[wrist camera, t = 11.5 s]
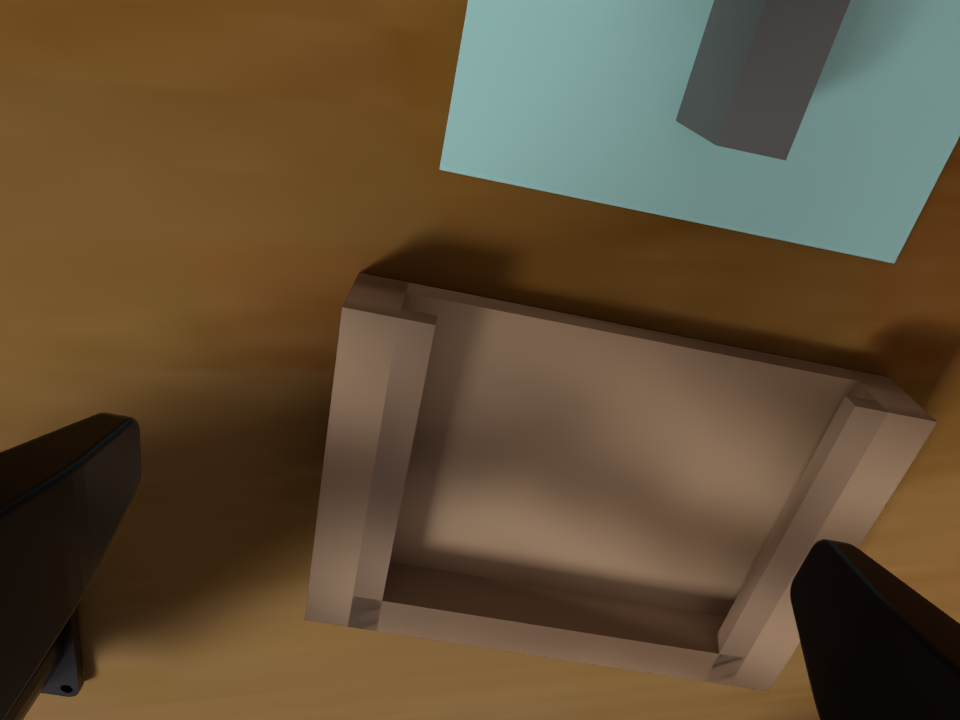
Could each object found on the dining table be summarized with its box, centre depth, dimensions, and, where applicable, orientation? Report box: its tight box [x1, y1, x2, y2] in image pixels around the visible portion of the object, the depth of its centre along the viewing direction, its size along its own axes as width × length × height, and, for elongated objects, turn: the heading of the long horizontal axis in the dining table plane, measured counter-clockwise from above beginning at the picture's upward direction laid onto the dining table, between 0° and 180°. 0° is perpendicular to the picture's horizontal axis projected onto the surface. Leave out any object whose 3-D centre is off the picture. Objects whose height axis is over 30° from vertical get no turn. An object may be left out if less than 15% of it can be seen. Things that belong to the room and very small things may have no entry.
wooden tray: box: [305, 273, 937, 691], centre depth 22 cm, size 12×17×3 cm
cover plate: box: [439, 0, 960, 263], centre depth 15 cm, size 10×13×4 cm
